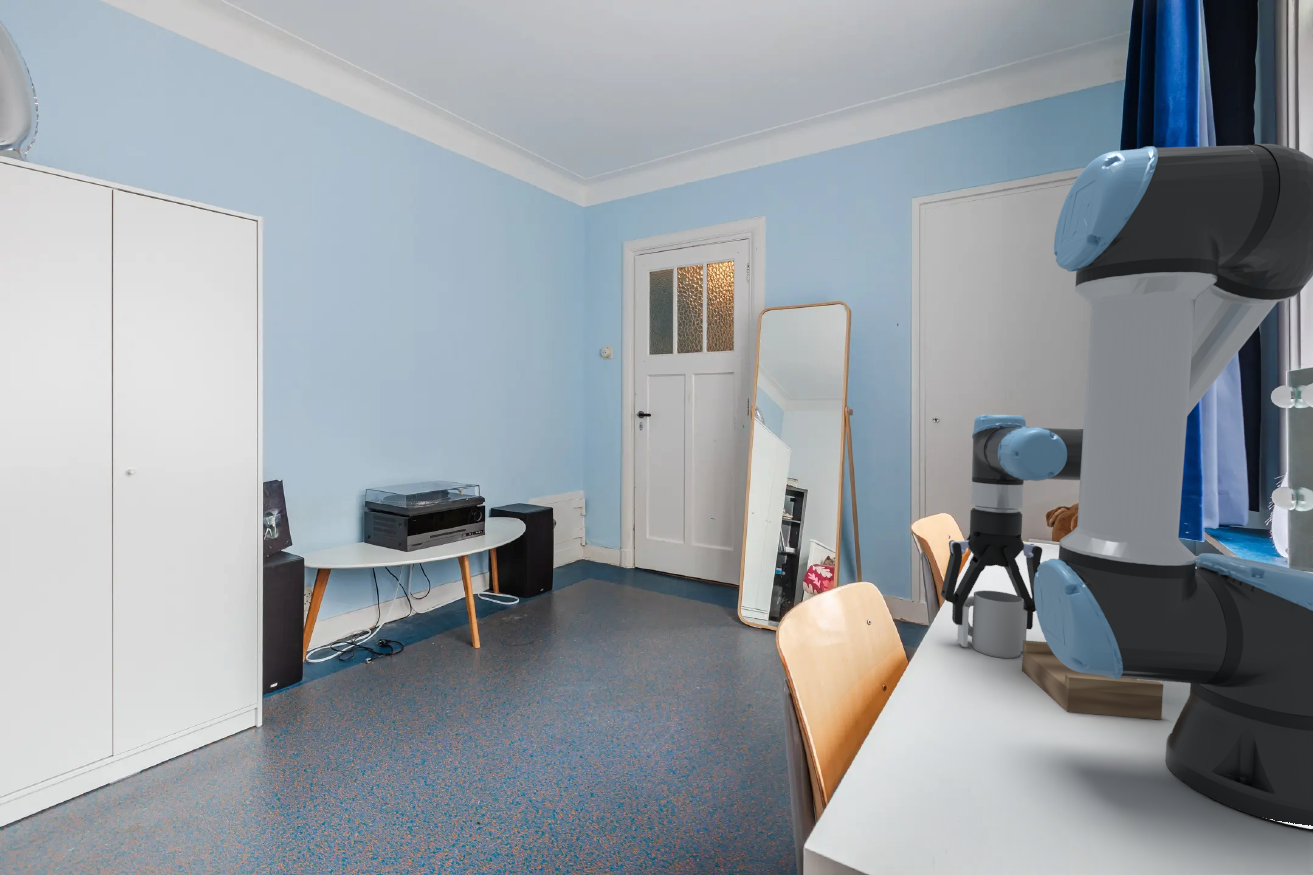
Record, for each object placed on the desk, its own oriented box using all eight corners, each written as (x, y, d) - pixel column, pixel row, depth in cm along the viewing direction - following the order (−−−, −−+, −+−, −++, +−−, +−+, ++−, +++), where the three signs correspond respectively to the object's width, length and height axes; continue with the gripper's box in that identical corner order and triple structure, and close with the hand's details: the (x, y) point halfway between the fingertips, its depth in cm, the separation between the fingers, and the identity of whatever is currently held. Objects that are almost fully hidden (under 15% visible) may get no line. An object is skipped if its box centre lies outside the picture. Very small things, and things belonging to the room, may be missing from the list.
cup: (1009, 662, 100) (1012, 605, 99) (946, 643, 107) (948, 590, 107) (1029, 652, 104) (1031, 598, 104) (967, 635, 112) (969, 584, 112)
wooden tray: (1161, 719, 81) (1163, 684, 81) (1067, 711, 83) (1068, 677, 83) (1101, 676, 95) (1102, 646, 95) (1021, 669, 97) (1023, 640, 96)
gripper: (1054, 508, 107) (1049, 642, 108) (922, 503, 110) (918, 633, 111) (1077, 514, 100) (1071, 659, 100) (935, 509, 103) (930, 649, 104)
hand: (990, 645), depth 106 cm, fingers closed on cup, 8 cm apart
